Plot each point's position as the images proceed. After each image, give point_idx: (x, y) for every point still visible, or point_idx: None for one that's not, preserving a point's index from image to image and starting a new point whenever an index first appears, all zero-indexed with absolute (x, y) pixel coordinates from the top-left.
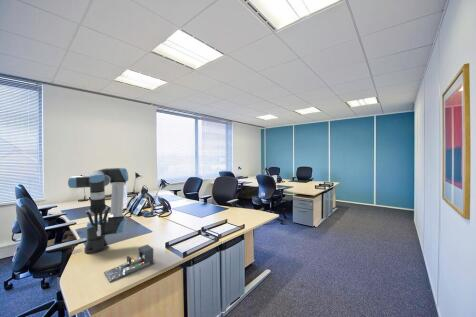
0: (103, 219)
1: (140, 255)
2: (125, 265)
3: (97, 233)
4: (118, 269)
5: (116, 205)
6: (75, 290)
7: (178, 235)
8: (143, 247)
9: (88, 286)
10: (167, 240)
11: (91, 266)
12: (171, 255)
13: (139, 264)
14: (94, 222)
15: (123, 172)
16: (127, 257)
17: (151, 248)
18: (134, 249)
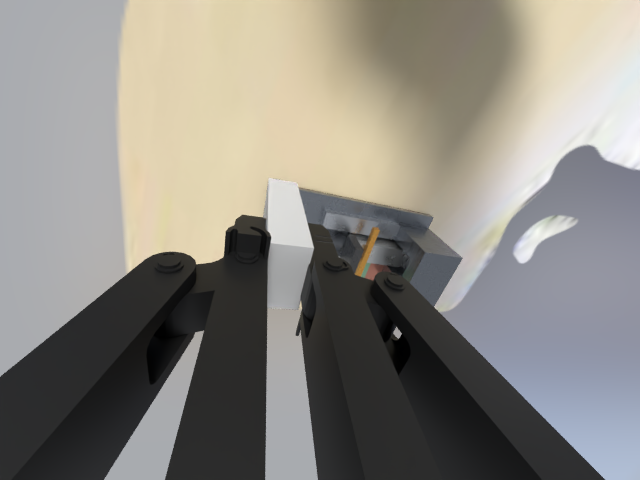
0: (404, 330)
1: (402, 248)
2: (339, 229)
3: (264, 217)
4: (314, 218)
5: None
6: (153, 204)
7: None
8: (430, 270)
9: (197, 219)
10: (600, 147)
11: (268, 30)
12: (464, 273)
13: (363, 273)
14: (214, 299)
15: None
16: (351, 257)
17: (430, 303)
18: (492, 70)
